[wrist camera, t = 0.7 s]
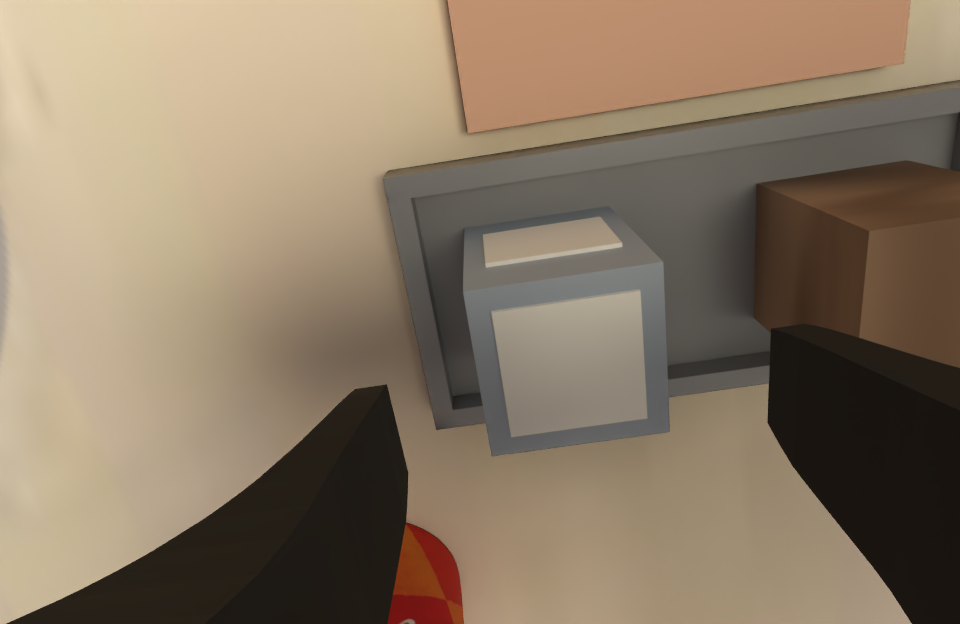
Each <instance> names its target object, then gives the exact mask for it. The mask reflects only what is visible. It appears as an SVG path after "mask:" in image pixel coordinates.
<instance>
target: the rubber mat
mask: <svg viewBox="0 0 960 624" xmlns="http://www.w3.org/2000/svg"><path fill="white" fill-rule="evenodd" d="M447 1H448V7H449V14H450V20H451V27H452V33H453V40H454V46H455V52H456V59H457V65H458V72H459V78H460V85H461V91H462V98H463V104H464V111H465V117H466V124H467V130H468V133H474V132H480V131H486V130H492V129H499V128H505V127H511V126H517V125H523V124H530V123H536V122H542V121H548V120H555V119H561V118H567V117H573V116H580V115H586V114H592V113H598V112H604V111H611V110H617V109H623V108H629V107H636V106H642V105H648V104H654V103H660V102H667V101H673V100H679V99H685V98H692V97H698V96H704V95H710V94H717V93H723V92H729V91H735V90H741V89H748V88H754V87H760V86H766V85H773V84H779V83H785V82H791V81H798V80H804V79H810V78H816V77H822V76H829V75H835V74H841V73H847V72H854V71H860V70H866V69H872V68H879V67H885V66H891V65H897V64H903V63H904V56H905V47H906V37H907V28H908V19H909V9H910V0H447Z"/></svg>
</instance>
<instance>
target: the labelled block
mask: <svg viewBox="0 0 960 624" xmlns="http://www.w3.org/2000/svg"><path fill="white" fill-rule="evenodd" d="M463 295H464V301H465V307H466V313H467V318H468V324H469V330H470V335H471V341H472V347H473V353H474V358H475V364H476V370H477V375H478V381H479V387H480V393H481V398H482V404H483V410H484V415H485V421H486V427H487V433H488V438H489V444H490V450H491V455H492V456H499V455H506V454H513V453H520V452H528V451H535V450H542V449H549V448H557V447H564V446H571V445H578V444H586V443H593V442H600V441H608V440H615V439H622V438H629V437H637V436H644V435H651V434H658V433H666V432H670V423H669V397H668V371H667V345H666V319H665V293H664V267H663V261H662V260H661V259H660V258H659V257H658V256H657V255H656V254H655V253H654V252H653V251H652V250H651V249H650V248H649V247H648V246H647V245H646V244H645V243H644V241H643V240H642V239H641V238H640V237H639V236H638V235H637V234H636V233H635V232H634V231H633V230H632V229H631V228H630V227H629V226H628V225H627V224H626V223H625V222H624V221H623V220H622V219H621V218H620V217H619V216H618V215H617V214H616V213H615V212H614V211H613V210H612V209H611V208H610V206H606V207H600V208H593V209H587V210H580V211H574V212H567V213H561V214H554V215H548V216H541V217H535V218H528V219H522V220H515V221H509V222H502V223H496V224H489V225H483V226H476V227H470V228H465V229H464V268H463Z"/></svg>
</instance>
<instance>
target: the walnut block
mask: <svg viewBox="0 0 960 624" xmlns="http://www.w3.org/2000/svg"><path fill="white" fill-rule="evenodd" d="M754 319H756V320H757V321H758V322H759V323H760V324H761V325H762V326H763V327H764V328H766V329H767V330H768V331H769V332H770V333H771V328H778V327H785V326H792V325H799V324H809V325H815V326H819V327H823V328H827V329H831V330H835V331H838V332H842V333H845V334H848V335H852V336H855V337H858V338H862V339H865V340H868V341H871V342H874V343H878V344H881V345H884V346H887V347H891V348H894V349H897V350H900V351H903V352H907V353H910V354H913V355H917V356H920V357H923V358H927V359H930V360H933V361H937V362H940V363H944V364H947V365H951V366H954V367H958V368H960V172H958V171H953V170H949V169H944V168H940V167H935V166H931V165H926V164H922V163H918V162H913V161H909V160H905V161H898V162H892V163H885V164H879V165H872V166H866V167H859V168H853V169H846V170H840V171H833V172H827V173H820V174H814V175H807V176H801V177H794V178H788V179H781V180H775V181H768V182H762V183H757V187H756V232H755V278H754Z"/></svg>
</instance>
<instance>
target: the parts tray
mask: <svg viewBox="0 0 960 624" xmlns="http://www.w3.org/2000/svg"><path fill="white" fill-rule="evenodd" d="M905 160H909V161H913V162H918V163H922V164H926V165H931V166H935V167H940V168H944V169H949V170H953V171H958V172H960V80H957V81H951V82H944V83H938V84H932V85H925V86H919V87H913V88H907V89H900V90H894V91H888V92H881V93H875V94H869V95H863V96H856V97H850V98H844V99H837V100H831V101H825V102H818V103H812V104H806V105H800V106H793V107H787V108H781V109H774V110H768V111H762V112H755V113H749V114H743V115H737V116H730V117H724V118H718V119H711V120H705V121H699V122H692V123H686V124H680V125H674V126H667V127H661V128H655V129H648V130H642V131H636V132H630V133H623V134H617V135H611V136H604V137H598V138H592V139H585V140H579V141H573V142H567V143H560V144H554V145H548V146H541V147H535V148H529V149H522V150H516V151H510V152H504V153H497V154H491V155H485V156H478V157H472V158H466V159H459V160H453V161H447V162H441V163H434V164H428V165H422V166H415V167H409V168H403V169H396V170H390V171H388V172H387V174H386V175H385V176H384V178H383V182H384V186H385V191H386V196H387V200H388V205H389V210H390V214H391V219H392V224H393V229H394V233H395V238H396V243H397V247H398V252H399V257H400V261H401V266H402V271H403V276H404V280H405V285H406V290H407V294H408V299H409V304H410V309H411V313H412V318H413V323H414V327H415V332H416V337H417V341H418V346H419V351H420V356H421V360H422V365H423V370H424V374H425V379H426V384H427V388H428V393H429V398H430V403H431V407H432V412H433V417H434V421H435V426H436V430H439V429H446V428H453V427H460V426H468V425H475V424H482V423H486V421H485V415H484V410H483V404H482V398H481V393H480V387H479V381H478V375H477V370H476V364H475V358H474V353H473V347H472V341H471V335H470V330H469V324H468V318H467V313H466V307H465V301H464V295H463V268H464V229H465V228H470V227H476V226H483V225H489V224H496V223H502V222H509V221H515V220H522V219H528V218H535V217H541V216H548V215H554V214H561V213H567V212H574V211H580V210H587V209H593V208H600V207H606V206H610V208H611V209H612V210H613V211H614V212H615V213H616V214H617V215H618V216H619V217H620V218H621V219H622V220H623V221H624V222H625V223H626V224H627V225H628V226H629V227H630V228H631V229H632V230H633V231H634V232H635V233H636V234H637V235H638V236H639V237H640V238H641V239H642V240H643V241H644V243H645V244H646V245H647V246H648V247H649V248H650V249H651V250H652V251H653V252H654V253H655V254H656V255H657V256H658V257H659V258H660V259H661V260H662V261H663V267H664V293H665V319H666V345H667V371H668V397H675V396H682V395H689V394H696V393H703V392H710V391H718V390H725V389H732V388H739V387H746V386H753V385H760V384H768V383H769V368H770V339H771V333H770V332H769V331H768V330H767V329H766V328H764V327H763V326H762V325H761V324H760V323H759V322H758V321H757V320H756V319H754V278H755V232H756V187H757V183H762V182H768V181H775V180H781V179H788V178H794V177H801V176H807V175H814V174H820V173H827V172H833V171H840V170H846V169H853V168H859V167H866V166H872V165H879V164H885V163H892V162H898V161H905Z"/></svg>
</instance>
